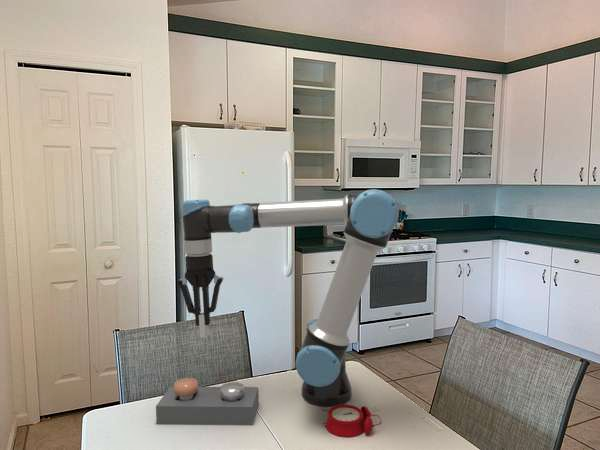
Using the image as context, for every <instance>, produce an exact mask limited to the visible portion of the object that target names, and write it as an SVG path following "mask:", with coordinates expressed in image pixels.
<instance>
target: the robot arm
mask: <svg viewBox="0 0 600 450" xmlns="http://www.w3.org/2000/svg"><path fill="white" fill-rule="evenodd" d="M399 211H400V210H399V206H398V203H397V201H396V200H395V198H394V197H393V196H392V195H391V194H390V193H388V192H386V191H384V190H381V189H375V188H373V189H367V190H364V191H363V192H361V193H353V194H346V195H345V196H344V197H343V198H329V199H328V198H325V199H310V200H306V199H305V200H291V201H290V200H289V201H288V200H287V201H273V202H271V201H270V202H260V203H259V202H256V203H253V202H252V203H250V202H247V203H246V202H245V203H241V204H239V203H237V204H229V205H227V204H226V205H211V204H210V200H209V199H207V198H205V199H186V200H185V201H183V202H182V216H181V217H182V224H183V225H182V227H183V240H184V241H183V242H184V254H185V255H186V256H185V257H184V258H185V259H184V260H185V261H184V262H185V273H184V276H183V277H182V278H180V279H178V280H177V282H176V284H177V285H178V286H179V288H180V289H181V292H182V296H183V300H184V303H185V305H186V309H187V313H189V314H193V315H194V317H195V326H197V327H199V338H200V339H206V337H207V336H208V326H210V324H211V315H210V314H211V313H213V312H215V311H216V309H217V305H218V300H219V299H218V298H219V293H220V289H221V284H222V283H223V281H224V277H223V276H219V275H217V274H216V271H215V270H214V259H213V254H212V252H213V241H212V240H213V239H212V234H217V233H219V234H220V233H222V234H223V233H237V234H240V233H248V232H250V231H251V230H252V229H261V228H282V227H283V228H285V227H311V226H314V227H315V226H336V225H337V226H338V225H339V226H340V225H341V226H343V225H345V228H344V230H343V234H344V238H345V240H346V241H345V244H344V247H343V250H342V252H341V255H340V257H339V260H338V263H337V266H336V268H335V272H334V274H333V276H332V280H331V283H330V284H329V288H328V290H327V293H326V296H325V297H324V298H325V299H324V301H323V304H322V307H321V309H320V311H319V315H318V318H315V319H311V320H308V322H307V323H306V328H305V330H306V334H305V336H304V339H303V343H302V345H301V347H300V350H299V351H298V353H297V355H296V358H295V368H296V372H297V374H298V376H299V377H300V378H301V379H302V380H303V382H302V385H301V397H302V399H304V400H305V401H306V402H307V403H309V404H311V405H316V406H320V407H321V406H322V407H333V406H336V405H343V404H345V403H347V402H348V401H350V400H351V398H352V386H351V382H350V379H349V377H348V374H347V369H346V368H347V367H346V364H347V363H346V354H347V350H348V347H349V344H350V342H351V341H350V338H349V337H348V331H349V328H350V325H351V323H352V321H353V319H354V315H355V313H356V310H357V307H358V305H359V302H360V300H361V297H362V296H363V295H362V294H363V291H364V289H365V287H366V284H367V281H368V279H369V276H370V273H371V271H372V268H373V265H374V263H375V260H376V257H377V255H378V252H380V251H382V250H384V249H386V247H387V245H388V242H389V240H390V238H391V235H392V233H393V230H394V228H395V227H396V225H397V223H398V220H399V215H400V214H399V213H400V212H399ZM212 282H213V283H214V287H213V292H212V297H211V302H210V294H209V293H210V291H209V288H210V286H209V285H210V284H211V283H212ZM188 283H189V284H190V286H191V287H192V292H193V300H192V296H191V293H190V289H189V286H188V285H187V284H188ZM200 289H201V290H200ZM201 291H202V292H201ZM201 293H202V304H203V312H202V310H201V309H202V306H201Z"/></svg>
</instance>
